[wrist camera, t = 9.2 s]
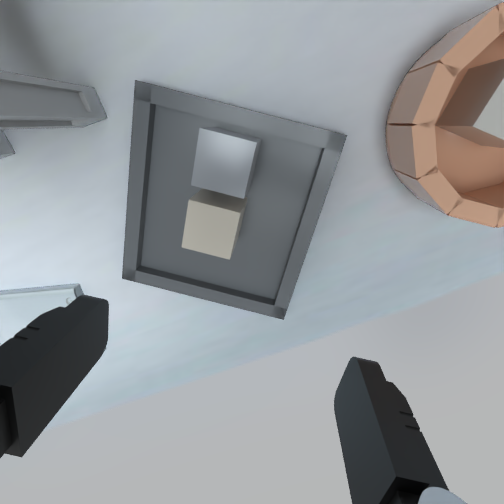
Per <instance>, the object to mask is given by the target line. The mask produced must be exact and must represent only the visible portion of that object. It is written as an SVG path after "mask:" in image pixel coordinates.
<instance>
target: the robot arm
mask: <svg viewBox="0 0 504 504" xmlns="http://www.w3.org/2000/svg"><path fill="white" fill-rule="evenodd" d="M108 315H109V304H108V301H107V300H105V299H101V298H96V297H92V296H87V295H80V296H79V297H77V298H76V299H75V300H74V301H72V302H71V303H70V304H69V305H68V306H66V307H61V306H59V307H57V308H55V309H52V310H50V311H48V312H45V313H43V314H41V315H39V316H38V317H37V318H36V319H34V320H33V321H32V322H30V323H29V324H28V325H27V326H26V328H23V329H21V330H20V331H19V332H18V333H16V334H15V335H14V337H13V338H10V339H9V340H7V341H6V342H5V343H3V344H2V345H1V346H0V458H1V457H2V456H3V454H4V453H5V454H10V455H14V456H19V457H22V456H23V455H24V454H25V453H26V451H27V450H28V449H29V447H30V446H31V445H32V444H33V442H34V441H35V440H36V439H37V437H38V436H39V435H40V434H41V432H42V431H43V430H44V429H45V427H46V426H47V425H48V423H49V422H50V421H51V420H52V418H53V417H54V416H55V415H56V413H57V412H58V411H59V409H60V408H61V407H62V406H63V404H64V403H65V402H66V401H67V399H68V398H69V397H70V395H71V394H72V393H73V392H74V390H75V389H76V388H77V387H78V385H79V384H80V383H81V381H82V380H83V379H84V378H85V376H86V375H87V374H88V373H89V371H90V370H91V369H92V367H93V366H94V365H95V364H96V362H97V361H98V360H99V359H100V357H101V356H102V354H103V352H104V350H105V348H106V345H107V341H108ZM334 410H335V416H336V422H337V427H338V432H339V437H340V442H341V447H342V452H343V458H344V462H345V468H346V473H347V479H348V484H349V489H350V494H351V499H352V504H467V503H466V502H464V501H463V500H462V499H461V498H459V497H458V496H456V495H455V494H453V493H452V492H450V491H449V489H448V488H447V486H446V484H445V481H444V479H443V477H442V475H441V473H440V470H439V468H438V466H437V464H436V462H435V460H434V458H433V455H432V453H431V451H430V449H429V447H428V445H427V443H426V440H425V438H424V436H423V434H422V432H420V428H419V426H418V423H417V421H416V419H415V418H414V417H413V413H412V410H411V408H410V406H409V404H408V402H407V400H406V398H405V397H404V395H403V394H402V393H401V392H400V391H399V390H398V388H397V387H396V386H395V385H394V384H393V383H392V382H388V381H386V379H385V377H384V374H383V372H382V369H381V367H380V365H379V364H378V363H377V362H375V361H371V360H366V359H362V358H357V357H352V358H351V359H350V361H349V363H348V365H347V367H346V370H345V372H344V374H343V376H342V379H341V381H340V384H339V386H338V388H337V390H336V394H335V400H334Z"/></svg>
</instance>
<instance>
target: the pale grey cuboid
mask: <svg viewBox="0 0 504 504" xmlns="http://www.w3.org/2000/svg"><path fill="white" fill-rule="evenodd" d="M435 126H437V127H440V128H442V129H444V130H447V131H449V132H451V133H454V134H456V135H458V136H460V137H463V138H465V139H467V140H470V141H472V142H474V143H477V144H479V145H481V146H489V147H498V148H504V59H501V60H497V61H494V62H490V63H487V64H483V65H480V66H477V67H473V68H470V69H468V71H467V73H466V74H465V76H464V78H463V79H462V81H461V83H460V84H459V86H458V88H457V90H456V91H455V93H454V95H453V96H452V98H451V100H450V101H449V103H448V105H447V106H446V108H445V110H444V112H443V113H442V115H441V117H440V118H439V120H438V122H437V123H436V125H435Z"/></svg>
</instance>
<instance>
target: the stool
mask: <svg viewBox="0 0 504 504" xmlns="http://www.w3.org/2000/svg"><path fill="white" fill-rule="evenodd" d="M106 118H107V116H106V114H105V111H104V109H103V107H102V105H101V102H100V100H99V98H98V96H97V93H96V91H95V89H94V88H93V87H88V86H82V85H77V84H71V83H66V82H60V81H55V80H49V79H44V78H38V77H33V76H27V75H22V74H16V73H11V72H5V71H0V159H1V158H4V157H7V156H9V155H12V154H15V152H14V150H13V148H12V147H11V145H10V143H9V141H8V140H7V138H6V136H5V134H4V133H3V131H2V129H39V128H76V127H85V126H87V125H90V124H93V123H95V122H98V121H101V120H103V119H106Z"/></svg>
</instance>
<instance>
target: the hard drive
mask: <svg viewBox="0 0 504 504" xmlns="http://www.w3.org/2000/svg"><path fill="white" fill-rule="evenodd" d="M80 295H84V294H83V291H82V289H81V287H80V284H69V285H58V286H47V287H37V288H26V289H16V290H5V291H0V346H1V345H2V344H3V343H5V342H6V341H7V340H9V339H10V338H13V337H14V335H15V334H16V333H18V332H19V331H20V330H21V329H23V328H26V326H27V325H28V324H29V323H30V322H32V321H33V320H34V319H36V318H37V317H38V316H39V315H41V314H43V313H45V312H48V311H50V310H52V309H55V308H57V307H59V306H61V307H66V306H68V305H69V304H70V303H71V302H72V301H74V300H75V299H76V298H77V297H79V296H80ZM105 350H106V348H105ZM105 350H104V351H105Z"/></svg>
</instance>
